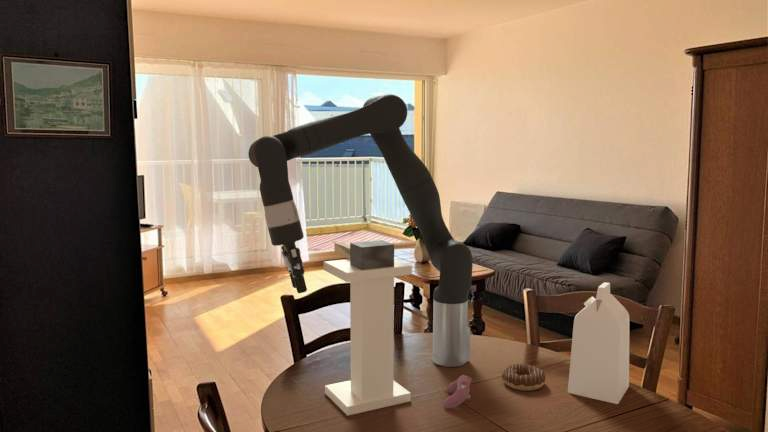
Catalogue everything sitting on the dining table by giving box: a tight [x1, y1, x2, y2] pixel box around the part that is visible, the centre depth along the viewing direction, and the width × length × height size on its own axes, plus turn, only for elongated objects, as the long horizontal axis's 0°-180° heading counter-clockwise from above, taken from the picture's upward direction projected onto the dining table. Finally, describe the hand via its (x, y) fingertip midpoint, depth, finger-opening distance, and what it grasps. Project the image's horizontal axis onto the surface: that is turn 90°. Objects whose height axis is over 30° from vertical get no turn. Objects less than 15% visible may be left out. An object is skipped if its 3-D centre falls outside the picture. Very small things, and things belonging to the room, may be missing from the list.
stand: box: [323, 258, 413, 416], centre depth 141 cm, size 16×13×32 cm
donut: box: [501, 363, 547, 392], centre depth 151 cm, size 11×11×4 cm
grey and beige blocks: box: [334, 239, 395, 270], centre depth 143 cm, size 8×21×5 cm, turn 27°
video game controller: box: [442, 374, 473, 409], centre depth 141 cm, size 10×5×7 cm, turn 169°
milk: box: [567, 281, 630, 405], centre depth 146 cm, size 12×12×26 cm
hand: (300, 289), depth 143 cm, fingers open, 8 cm apart
